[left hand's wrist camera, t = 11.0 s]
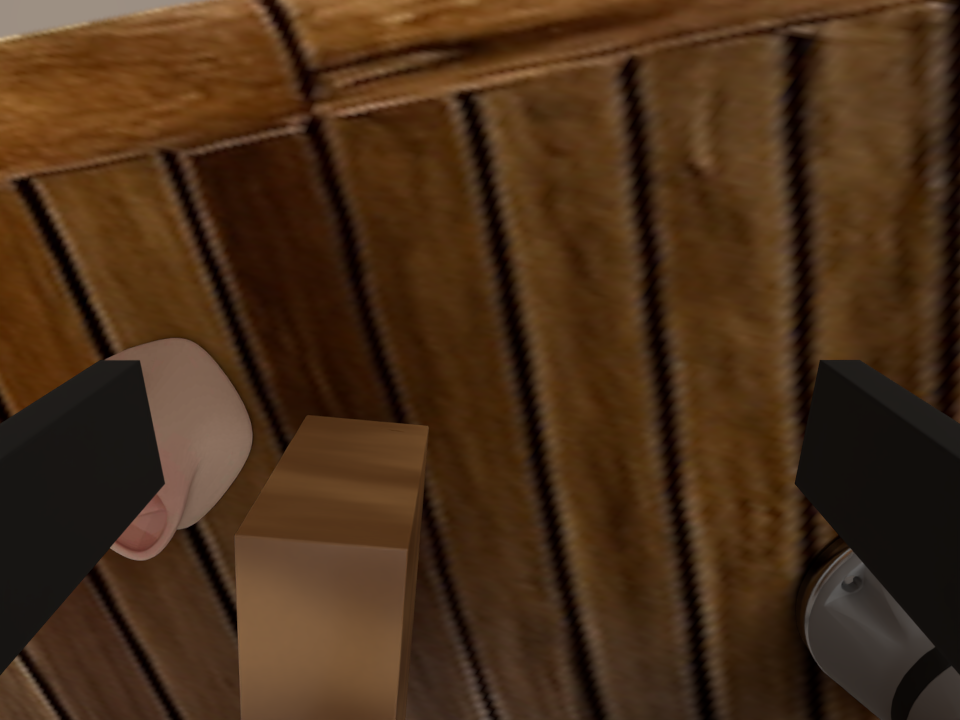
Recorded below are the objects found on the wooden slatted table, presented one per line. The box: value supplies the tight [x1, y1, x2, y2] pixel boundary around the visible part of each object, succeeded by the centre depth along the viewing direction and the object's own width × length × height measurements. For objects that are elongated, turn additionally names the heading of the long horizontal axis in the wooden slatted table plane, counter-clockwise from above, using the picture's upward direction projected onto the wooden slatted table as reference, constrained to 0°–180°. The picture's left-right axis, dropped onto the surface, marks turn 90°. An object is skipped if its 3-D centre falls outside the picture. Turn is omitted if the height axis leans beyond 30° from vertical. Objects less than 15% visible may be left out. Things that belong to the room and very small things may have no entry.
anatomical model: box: [105, 338, 253, 560], centre depth 39 cm, size 13×4×12 cm
